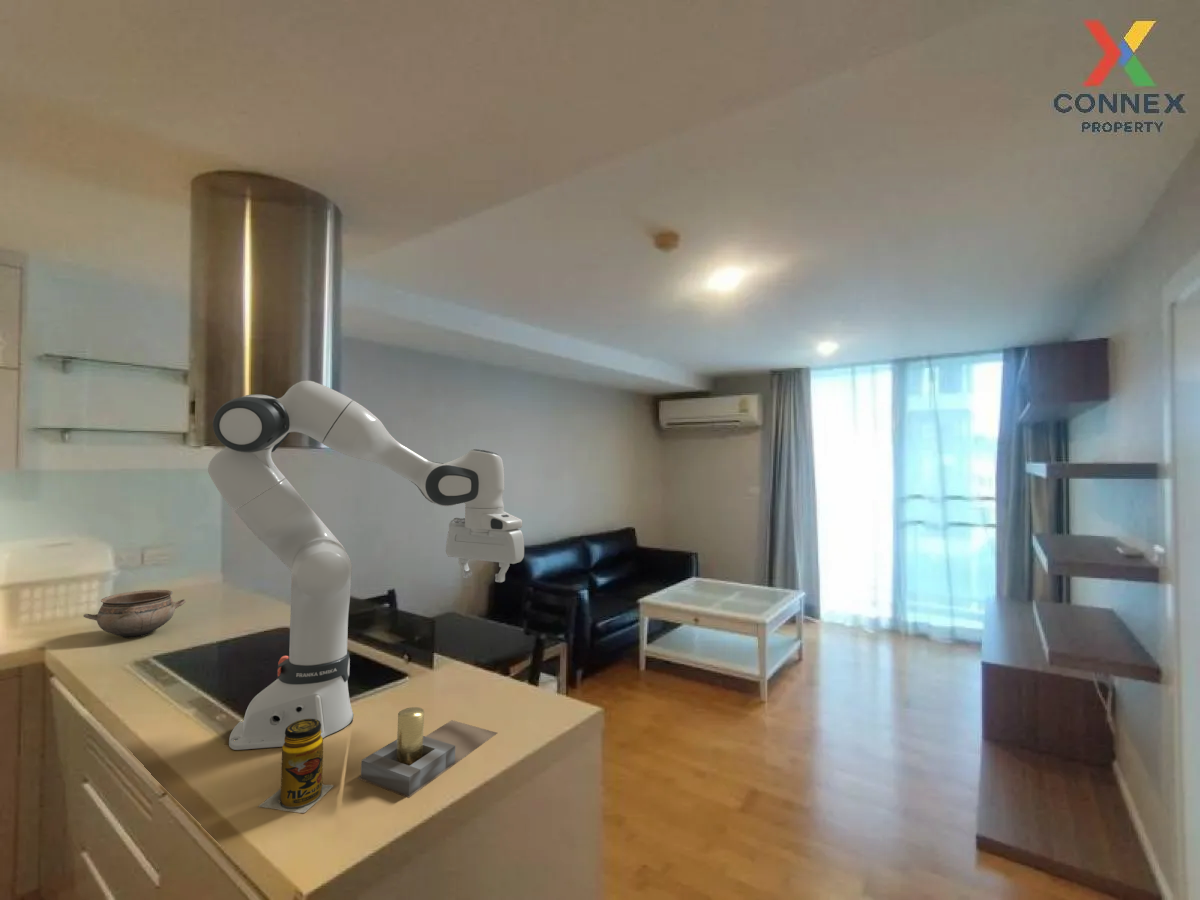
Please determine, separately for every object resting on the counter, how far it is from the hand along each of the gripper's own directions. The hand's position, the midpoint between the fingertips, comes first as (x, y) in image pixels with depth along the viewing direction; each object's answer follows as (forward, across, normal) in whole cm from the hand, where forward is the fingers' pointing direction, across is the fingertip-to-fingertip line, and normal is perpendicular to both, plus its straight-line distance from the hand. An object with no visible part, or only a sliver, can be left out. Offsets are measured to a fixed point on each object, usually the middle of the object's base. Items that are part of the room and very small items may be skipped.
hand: (483, 579), depth 124 cm
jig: (+29, +6, -22) cm, 37 cm away
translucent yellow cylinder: (+28, +6, -28) cm, 40 cm away
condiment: (+29, -6, -40) cm, 50 cm away
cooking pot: (+29, -130, -9) cm, 133 cm away
